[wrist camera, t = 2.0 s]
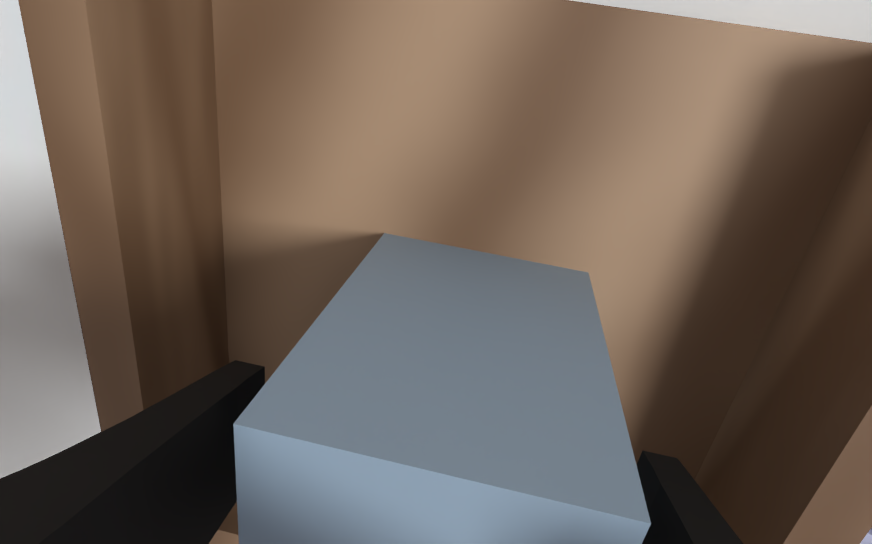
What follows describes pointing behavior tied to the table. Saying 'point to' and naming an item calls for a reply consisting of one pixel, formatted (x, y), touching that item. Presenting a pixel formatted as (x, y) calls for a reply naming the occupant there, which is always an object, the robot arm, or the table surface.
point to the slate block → (443, 412)
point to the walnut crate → (487, 205)
